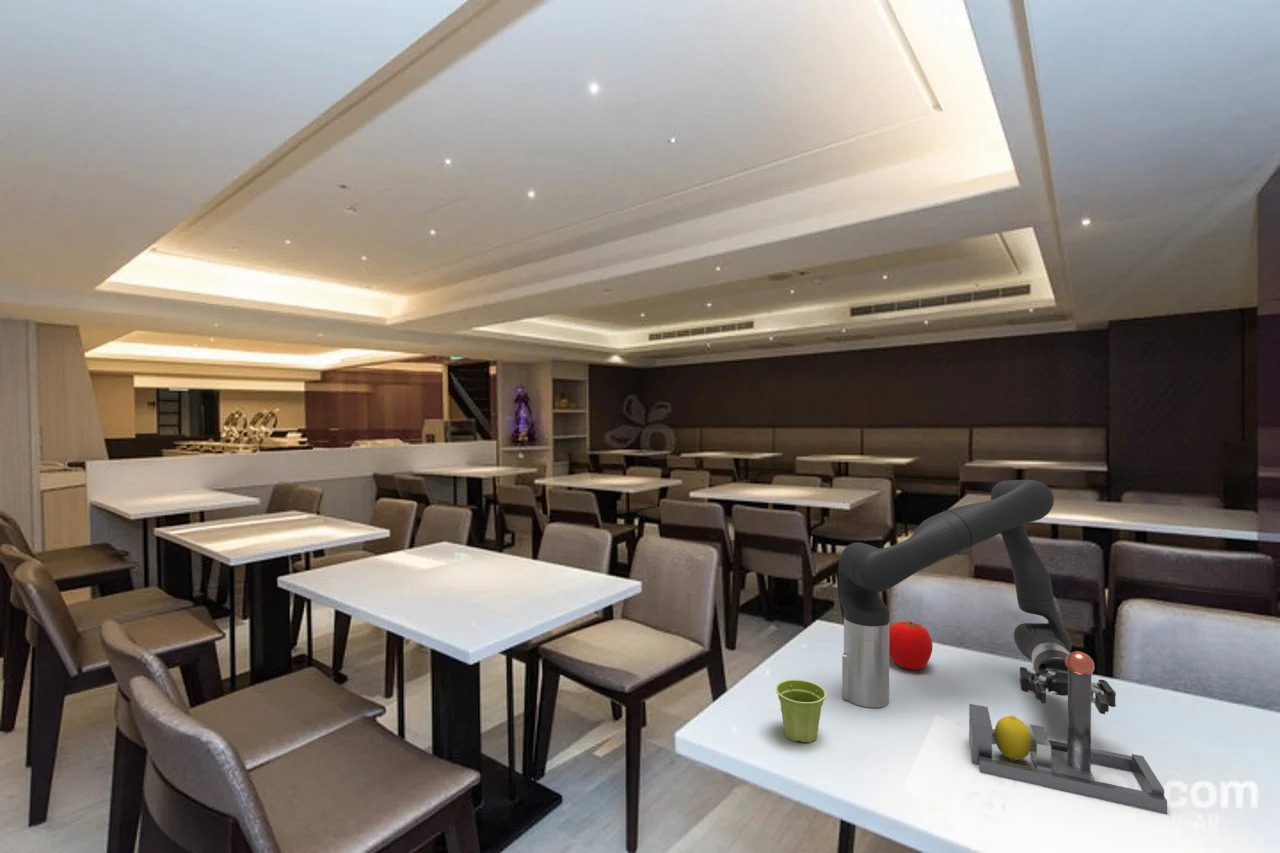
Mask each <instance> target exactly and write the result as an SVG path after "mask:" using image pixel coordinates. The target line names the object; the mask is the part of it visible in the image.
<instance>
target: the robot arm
mask: <svg viewBox="0 0 1280 853" xmlns="http://www.w3.org/2000/svg"><path fill="white" fill-rule="evenodd" d="M1054 502H1055V496H1054V494H1053V491H1052V490H1051V488H1050V487H1049V486H1047V485H1046V484H1045V483H1043V482H1041V481H1038V480H1032V479H1014V480H1003V481H1000V482H997V483H996V485H994V487H993V488H992V490H991V494H990V499H989V500H986V501H981V502H980V501H978V502H974V503H969V504H965V505H960V506H956V507H953V508H949V509H947V510H944V511H942V512H939V513H937V514H934V515H932V516H930V517H928V518H926V519H925V520H923V521H922V522H921V523H920V524H919V525H918V526H917V527H916V529H915V531H914V532H913V533H912V535H910V537H909V538H907V539H905V540H904V541H901V542H898V543H896V544H894V545H891V546H887V547H883V548H882V547H881V548H880V547H879V548H878V547H875V546H873V545H870V544H868V543H863V542H852V543H850V544H848V545H847V546H845V548H844V549H843V550H842V552H841V554H840V557H839V562H838V583H839V585H838V587H839V600H840V604H841V606H842V610H843V654H842V657H841V658H842V659H841V661H842V662H841V663H842V664H841V666H842V667H841V672H842V673H841V675H842V677H841V680H842V682H841V683H842V684H841V685H842V686H841V690H842V691H841V693H842V694H841V695H842V696H841V697H842V698H841V699H842V700H844V701H845V700H846V701H848V702H850V703H852V704H854V705H856V706H860V707H865V708H872V709H873V708H875V709H876V708H883V707H886V706H887V705H889V703H890V656H889V628H890V610H889V607H888V606H887V604H886V603H885V602H884V601H883V599H882V598H881V596H880V594H879V593H881V592H884V591H887V590H889V589H891V588H893V587H895V586H896V585H898V584H900V583H901V582H903V581H905V580H906V579H908V578H909V577H912V576H913V575H914V574H916V573H918V572H919V571H922V570H924V569H926V568H928V567H931V566H933V565H935V564H937V563H940V562H941V561H943V560H947V559H948V558H950V557H953V556H956V555H958V554H961V553H962V552H964V551H968V550H969V549H971V548H972V547H975V546H976V545H978V544H981V543H984V542H985V541H987V540H989V539H991V538H993V537H997V535H999V534H1000V535H1001V538H1002V540H1003V543H1004V546H1005V549H1006V552H1007V555H1008V558H1009V562H1010V567H1011V569H1012V575H1013V580H1014V587H1015V592H1016V599H1017V605H1018V607H1019V609H1020V610H1021V612H1023V613H1026V614H1029V615H1030V614H1031V615H1036V616H1040V617H1043V618H1045V620H1047V622H1046V623H1045V622H1043V623H1042V622H1041V623H1039V622H1037V623H1036V622H1031V623H1030V622H1028V623H1027V622H1023V623H1020V624H1018V625H1017V626H1016V627H1015V628H1014V630H1013V639H1014V642H1015V645H1016V648H1017V649H1018V650H1019V652H1020V653H1021V654H1022V655H1023V656H1025V657H1026V658H1027V659H1028V660H1030V661H1031V664H1032V669H1033V670H1034V672H1035V673H1033V672H1031V671H1030V670H1028V668H1026V667H1023V666H1020V667H1019V684H1020V685H1019V686H1020V690H1021V691H1022V692H1025V693H1028V692H1029V691H1030V692H1032V694H1033V695H1034V698H1035V699H1036V700H1037V701H1040V703H1041V704H1047V696H1050V695H1052V694H1053V695H1056V696H1060V697H1061V696H1064V697H1065V696H1067V697H1068V668H1067V667H1066V664H1065V659H1066V656H1067V655H1068V654H1069V653H1071V652H1072V648H1073V647H1072V644H1073V643H1072V640H1071V637H1070V636H1069V632H1068V631H1067V629H1066V627H1065V626H1064V623H1063V622H1062V620H1061V617H1060V615H1059V613H1058V609H1057V607H1056V602H1055V599H1054V598H1055V597H1054V591H1053V586H1052V579H1051V576H1050V574H1049V572H1048V571H1049V570H1048V569H1047V567H1046V565H1045V563H1044V561H1043V560H1042V559H1041V557H1040V556H1039V554H1038V552H1037V551H1036V550H1035V548H1034V546H1033V544H1032V543H1031V541H1030V538H1029V536H1028V533H1027V530H1026V524H1029V523H1032V522H1036V521H1040V520H1041V519H1043V518H1045V517H1047V515H1048V514H1049V513H1050V512H1051V511H1052V509H1053V506H1054ZM1116 693H1117V692H1116V690H1114V689H1113V688H1112V686H1111V685H1110V683H1109V682H1108V681H1107V680H1105V679H1098V681H1097V682H1092V681H1091V704H1092V703H1093V704H1094V706H1095V708H1096V709H1097V711H1098V713H1099V714H1100V715H1101V714H1102V715H1106V713H1109V710H1110V707H1111V708H1116V706H1117V705H1116V697H1117V696H1116V695H1117V694H1116ZM1094 694H1095V695H1094Z"/></svg>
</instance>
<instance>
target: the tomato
mask: <svg viewBox="0 0 1280 853" xmlns="http://www.w3.org/2000/svg"><path fill="white" fill-rule="evenodd" d="M923 626H924V624H921V623H917V622H913V621H904V620H903V621H898V622H895V623H894V624H892V625H891V626H889V659H891V661H893V662H894V663H896V664H897V665H898V666H900V667H902V668H904V669H908V670H913V671H918V670H920V669H923V668H924V667H925V666H926V665H927V664H928V663H929V660H930V659H931V656H932V653H933V647H934V646H933V641H932V640H933V639H932V638H931V635H930V633H929V631H928V630H927V629H926V628H925V627H923Z"/></svg>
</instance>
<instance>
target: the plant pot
mask: <svg viewBox="0 0 1280 853" xmlns="http://www.w3.org/2000/svg"><path fill="white" fill-rule="evenodd" d="M775 692H776V694H777V696H778V700H779V701H780V702H779V703H780V708H781V709H780V710H781V716H782V718H781V719H782V726H783V732H784V733H783V734H784V735H785V737H787V738H788V737H789V738H790V739H789V738H788V739H789V740H791V739H793V740H794V741H793V740H792V741H793V742H802V743H803V742H809V743H812V742H814V741H815V739H816V740H817V738H818V732H819V726H820V719H821V710H822V707H823V704H824V701H825V699H826V698H827V691H826V690H825V689H824V687H822V686H821V685H819V684H817V683H815V682H812V681H809V680H803V679H786V680H782V681H781V682H779V683H777V684H776V686H775Z"/></svg>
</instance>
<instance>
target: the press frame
mask: <svg viewBox="0 0 1280 853" xmlns="http://www.w3.org/2000/svg"><path fill="white" fill-rule="evenodd" d="M968 707H969V708H968V709H969V710H968V711H969V712H968V714H969V715H968V716H969V718H968V720H969V721H968V728H969V729H968V731H969V732H968V734H969V735H968V741H969V742H968V743H969V751H970V757H971V763H972V764H974V765H978V768H979V770H978V771H979V772H980V773H984V774H989V775H993V776H996V777H997V776H998V777H1002V778H1006V779H1010V780H1014V781H1015V780H1016V781H1019V782H1024V783H1028V784H1034V785H1037V786H1043V787H1045V788H1050V789H1056V790H1058V791H1059V790H1060V791H1064V792H1069V793H1072V794H1073V793H1074V794H1077V795H1081V796H1086V797H1091V798H1095V799H1100V800H1104V801H1107V802H1108V801H1109V802H1113V803H1117V804H1123V805H1127V806H1131V807H1135V808H1139V809H1144V810H1148V811H1151V812H1156V813H1160V814H1168V799H1167V798H1166V796H1165V788H1164V787H1163V785H1162V783H1161V782H1160V780H1159V779H1158V778H1157V776H1156V773H1154V771H1153V770H1152V768H1151V766H1150V765H1149V763H1148V761H1147V760H1146V759H1145V757H1144V756H1143V755H1139V754H1135V753H1132V754H1131V755H1127V754H1122V753H1116V752H1112V751H1107V750H1102V749H1098V748H1092V747H1091V764H1093V765H1099V766H1103V767H1108V768H1114V769H1118V770H1123V771H1128V772H1131V773H1132V774H1133V776H1134V778H1135V780H1136V781H1137V783H1138V785H1139V787H1140V788H1141V790H1138V789H1135V788H1131V787H1130V788H1129V787H1125V786H1122V785H1116V784H1112V783H1106V782H1104V781H1103V782H1101V781H1098V780H1097V781H1096V780H1095V781H1093V780H1089V779H1084V778H1079V777H1075V776H1070V775H1065V774H1061V773H1056V772H1051V771H1047V770H1042V769H1037V768H1035V767H1031V766H1028V765H1023V764H1017V763H1014V762H1008V761H1003V760H999V759H995V758H993V744H994V745H996V742H995V736H994V733H995V728H993V725H992V720H991V716H990V712H989V711H990V710H989V707H988V706H983V705H978V704H972V703H969V705H968ZM1048 740H1049V742H1050V745H1051V749H1053V750H1058V751H1063V752H1067V742H1061V741H1056V740H1051V739H1048Z"/></svg>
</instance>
